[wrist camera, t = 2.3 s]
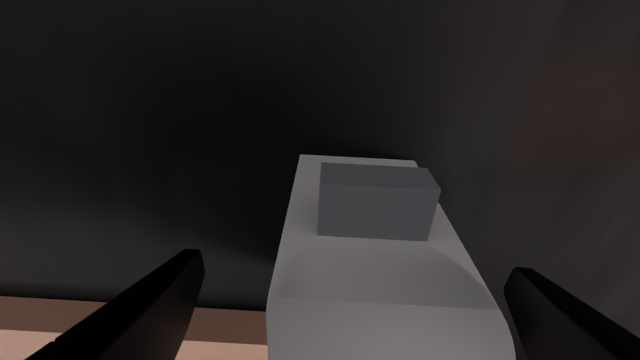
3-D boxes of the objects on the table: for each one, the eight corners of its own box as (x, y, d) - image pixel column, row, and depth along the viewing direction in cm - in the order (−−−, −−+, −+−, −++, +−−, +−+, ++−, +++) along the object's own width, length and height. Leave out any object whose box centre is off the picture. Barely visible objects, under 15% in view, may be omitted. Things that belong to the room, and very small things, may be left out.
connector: (422, 123, 9) (655, 399, 2) (389, 275, 12) (457, 579, 5) (300, 117, 9) (221, 373, 3) (298, 270, 12) (260, 567, 5)
